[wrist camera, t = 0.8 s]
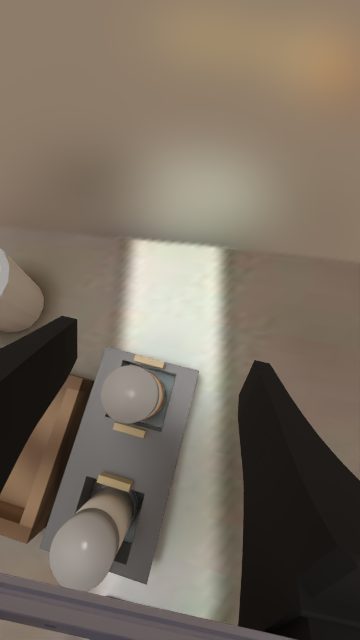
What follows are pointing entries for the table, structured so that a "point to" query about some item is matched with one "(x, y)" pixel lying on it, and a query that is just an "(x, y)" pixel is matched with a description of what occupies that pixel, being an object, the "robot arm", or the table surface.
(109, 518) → the plain fuse
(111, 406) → the marked fuse
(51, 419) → the tray
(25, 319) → the white tapered cup
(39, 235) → the table surface
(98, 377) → the fuse holder
